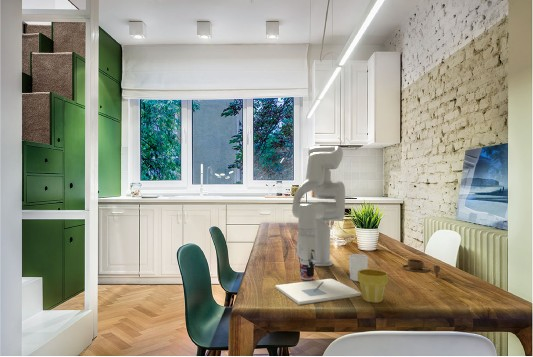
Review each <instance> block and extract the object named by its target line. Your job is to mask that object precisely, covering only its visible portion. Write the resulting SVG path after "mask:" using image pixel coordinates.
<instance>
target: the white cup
mask: <svg viewBox="0 0 533 357" xmlns="http://www.w3.org/2000/svg"><path fill="white" fill-rule="evenodd" d="M368 258H369V256H368V255H366V254H360V253H359V254H357V253H351V254H349V255H348V268H349V269H348V270H349V279H350V280H351V281H354V282H359V281H358V271H359V270H362V269H368V263H369V262H368V261H369V260H368Z"/></svg>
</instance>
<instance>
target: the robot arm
mask: <svg viewBox="0 0 533 357" xmlns="http://www.w3.org/2000/svg"><path fill="white" fill-rule="evenodd" d="M343 153H344V152H343V149H342V147H341V146H339V145H316V146H312V147H310V148H309V149H308V158H307V167H306V175H305V179H304V180H305V181H304V182H302V184H301V185H299V186H298V188H297V189H296V191H295V193H294V195H293V199H292V207H291V209H292V211H291V212H292V215H293V216H294V217H295V218H296V219H297V218H298V222H297V223H298V224H297V225H298V231H297V232H298V233H297V234H298V235H297V241H296V242H297V243H296V256H297V257H298V259H299V273H300V274H301V261H302V260H303V259H304V260H307V264H308V267H307V276H308V277H309V276H313V277H314V276H315V267H330V266H333V265H334V261H333V260H331V228H330V226H329V224H327V222H342V221H343V220H344V218H345V210H346V209H345V208H346V207H345V206H346V186H345V184H344V182H343V181H340V180H332V178H331V175H332V174H331V173H332V172H331V170H336V169H338V168H339V166H340V164H341V161H342V160H343V156H344V154H343ZM311 191H313V196H314V198H316V199H317V200H334V201H301V200H302V198H303V197H304V196H305V195H306V194H307V193H309V192H311ZM310 258H311V259H310ZM310 261H312V262H310Z"/></svg>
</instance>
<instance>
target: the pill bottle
mask: <svg viewBox="0 0 533 357" xmlns="http://www.w3.org/2000/svg"><path fill="white" fill-rule="evenodd" d="M310 259H311V258H310ZM310 262H312V261H310ZM300 264H301V273H300V279H301V280H305V281H312V280H313V279H314V276H309V277H308V276H307V267H308V264H307V260H304V259H303V260H302V261H301V263H300Z"/></svg>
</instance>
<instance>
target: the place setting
mask: <svg viewBox="0 0 533 357" xmlns="http://www.w3.org/2000/svg"><path fill="white" fill-rule="evenodd" d="M424 263H425V262H424V261H423V260H421V259H415V258H414V259H413V258H412V259H408V260H407V264H403V265H402V266H401V267H402V270H404V271H407V272H413V273H428V272H429V271H430V268H429V267H428V266H424ZM406 267H407V268H406ZM422 269H423V270H422ZM424 269H425V270H424ZM397 270H398V271H400V268H399V269H398V268H397ZM440 270H441V267H440V265H435V264H434V265H433V271H434V273H435V275H434V276H435V278H438V277H439V275H438V274H439V273H440Z"/></svg>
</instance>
